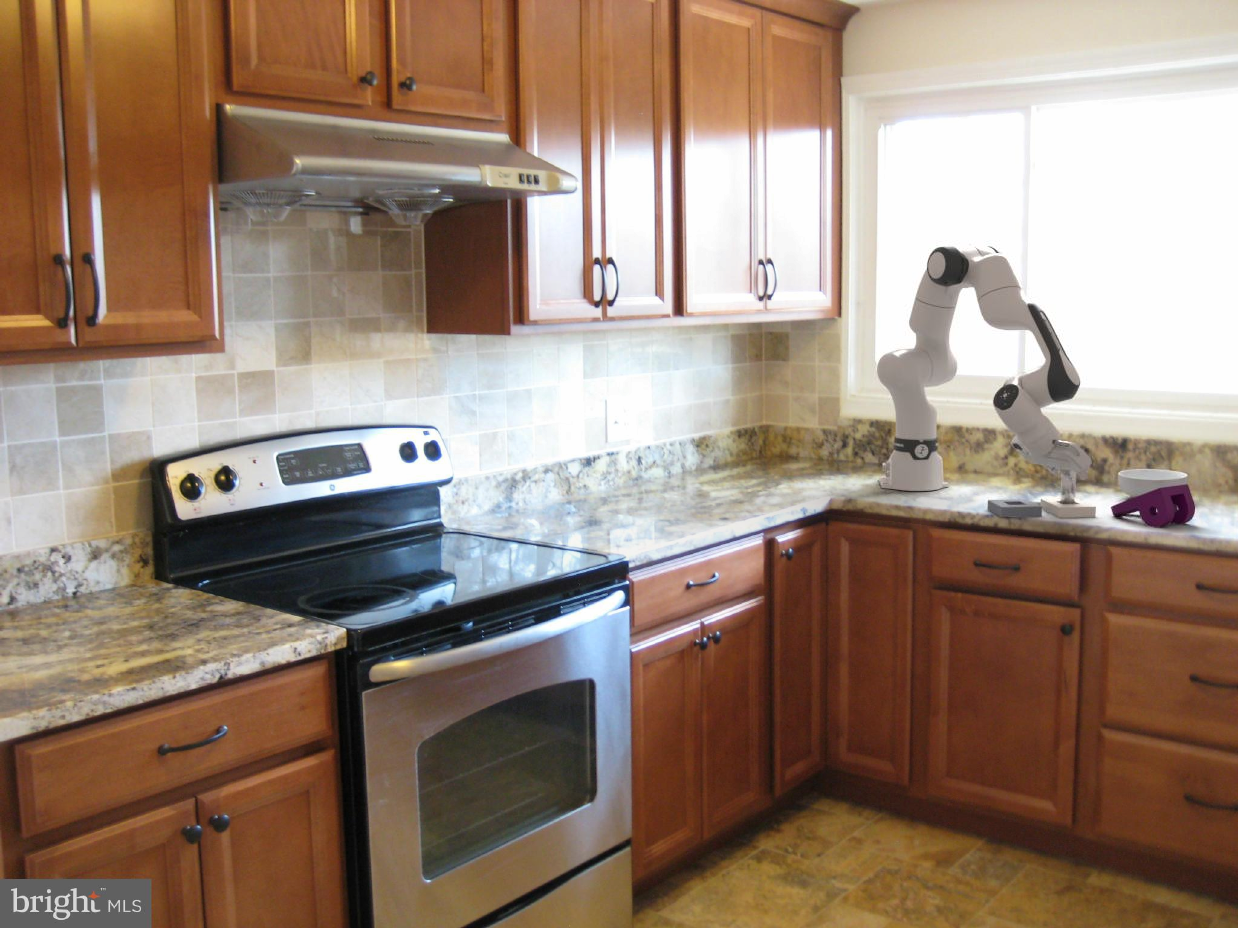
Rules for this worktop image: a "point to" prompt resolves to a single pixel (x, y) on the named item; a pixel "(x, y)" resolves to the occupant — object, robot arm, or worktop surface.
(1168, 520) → the mounting bracket
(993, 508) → the socket
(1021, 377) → the robot arm
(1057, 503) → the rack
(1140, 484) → the cereal bowl
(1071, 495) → the capped cylinder peg
